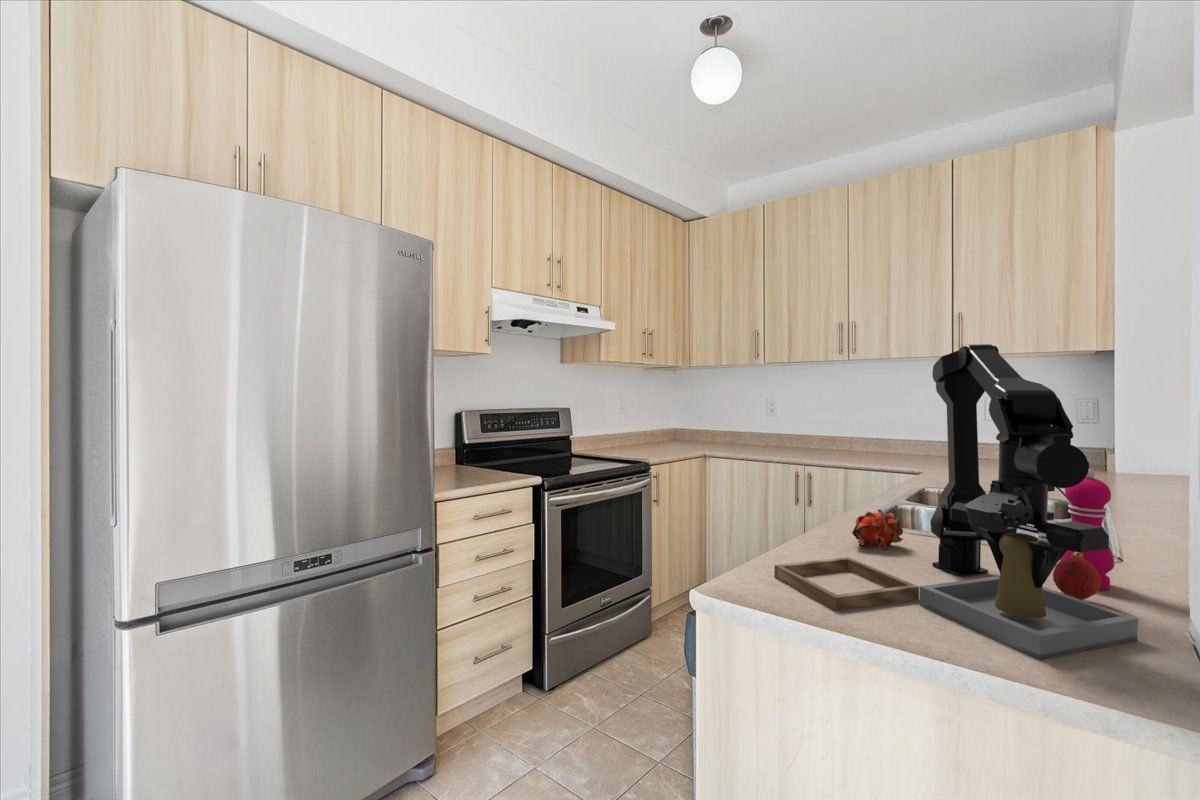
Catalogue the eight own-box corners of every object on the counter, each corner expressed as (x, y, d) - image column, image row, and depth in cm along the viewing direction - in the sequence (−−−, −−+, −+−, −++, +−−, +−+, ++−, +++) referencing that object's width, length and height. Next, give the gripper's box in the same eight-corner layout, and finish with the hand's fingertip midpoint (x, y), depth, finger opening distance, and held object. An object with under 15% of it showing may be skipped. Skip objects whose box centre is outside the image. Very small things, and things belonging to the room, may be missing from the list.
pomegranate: (1089, 611, 84) (1090, 559, 84) (1045, 598, 90) (1046, 549, 89) (1107, 604, 87) (1108, 553, 87) (1063, 592, 92) (1064, 544, 92)
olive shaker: (1056, 619, 77) (1057, 541, 77) (1007, 616, 79) (1008, 539, 78) (1031, 602, 83) (1033, 530, 83) (986, 600, 84) (987, 528, 84)
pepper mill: (1118, 595, 91) (1121, 473, 90) (1062, 586, 95) (1064, 469, 94) (1108, 581, 97) (1110, 467, 96) (1055, 574, 101) (1057, 464, 100)
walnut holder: (848, 567, 105) (848, 557, 105) (919, 599, 89) (919, 586, 89) (774, 576, 100) (774, 565, 100) (835, 610, 85) (835, 597, 85)
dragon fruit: (906, 553, 119) (858, 566, 116) (880, 522, 125) (834, 534, 122) (921, 528, 113) (871, 540, 111) (893, 497, 120) (845, 508, 117)
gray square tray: (1005, 592, 92) (1006, 574, 92) (1137, 640, 75) (1137, 618, 75) (919, 605, 87) (919, 586, 87) (1039, 659, 70) (1040, 636, 70)
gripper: (924, 468, 87) (922, 567, 87) (1051, 490, 69) (1048, 614, 70) (978, 465, 90) (976, 560, 91) (1113, 485, 72) (1110, 604, 73)
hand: (1020, 582), depth 81 cm, fingers closed on olive shaker, 4 cm apart
